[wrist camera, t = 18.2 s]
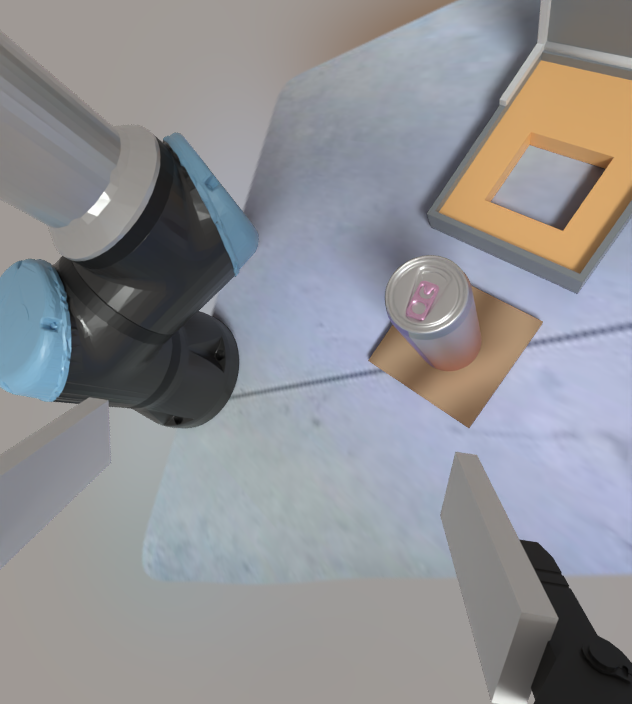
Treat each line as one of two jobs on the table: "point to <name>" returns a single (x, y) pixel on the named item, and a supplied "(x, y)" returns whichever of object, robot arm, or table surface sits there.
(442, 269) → the beverage can
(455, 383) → the walnut board
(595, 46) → the equipment case
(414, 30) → the table surface
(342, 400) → the table surface
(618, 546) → the table surface
